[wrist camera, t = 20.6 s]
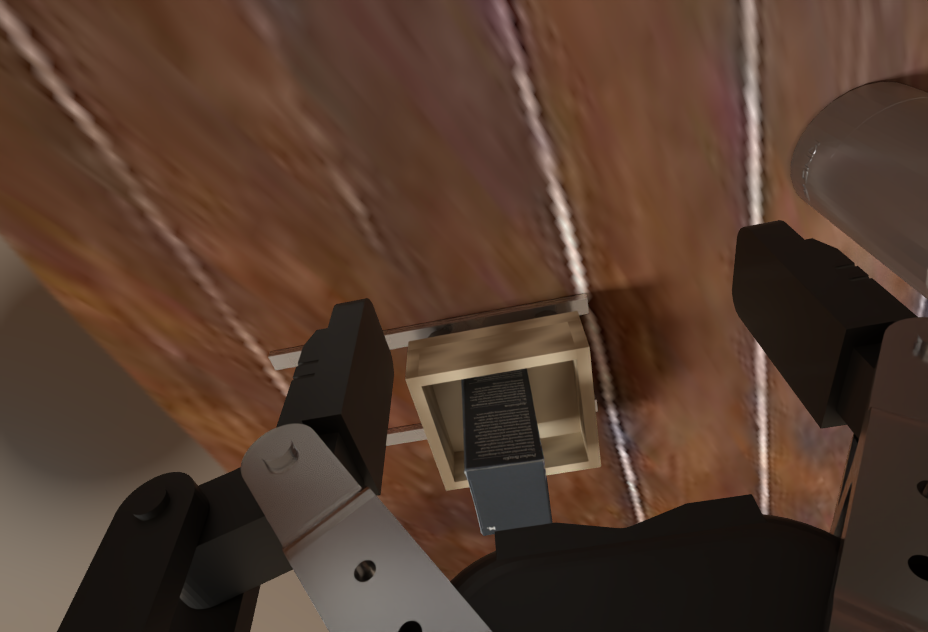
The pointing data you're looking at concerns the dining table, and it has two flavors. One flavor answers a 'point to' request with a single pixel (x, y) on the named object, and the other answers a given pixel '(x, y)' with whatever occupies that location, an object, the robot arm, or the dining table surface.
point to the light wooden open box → (500, 350)
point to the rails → (454, 325)
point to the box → (504, 452)
